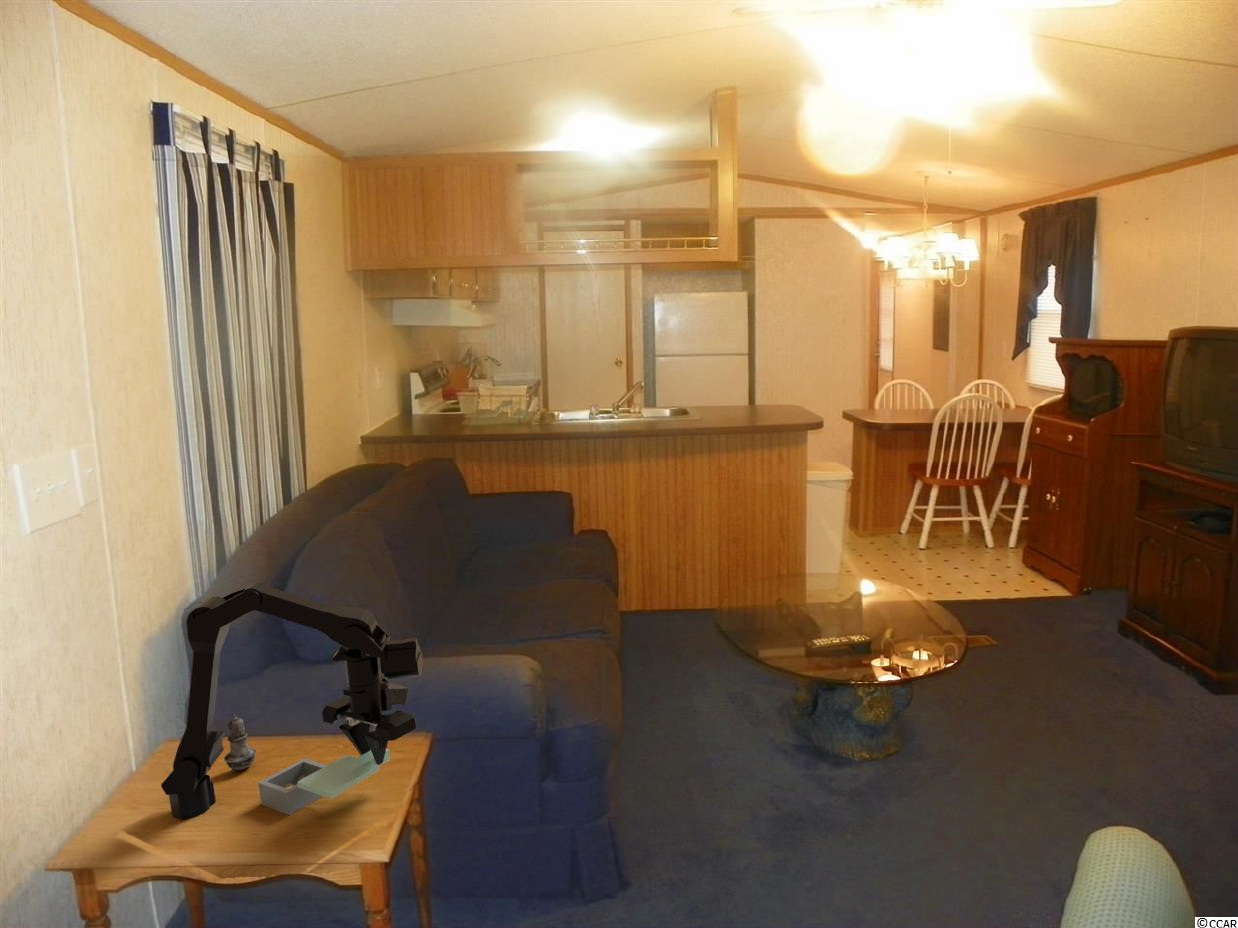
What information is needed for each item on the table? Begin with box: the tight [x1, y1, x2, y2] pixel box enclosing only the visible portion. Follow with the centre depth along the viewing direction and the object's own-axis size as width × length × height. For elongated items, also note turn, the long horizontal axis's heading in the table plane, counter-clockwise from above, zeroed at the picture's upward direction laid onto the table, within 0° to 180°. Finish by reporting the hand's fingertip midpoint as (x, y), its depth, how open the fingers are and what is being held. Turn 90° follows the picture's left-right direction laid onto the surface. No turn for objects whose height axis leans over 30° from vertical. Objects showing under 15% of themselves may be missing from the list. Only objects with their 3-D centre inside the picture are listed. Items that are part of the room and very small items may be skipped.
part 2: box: [299, 774, 311, 781], centre depth 167 cm, size 2×2×3 cm
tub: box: [258, 758, 327, 816], centre depth 166 cm, size 10×8×5 cm
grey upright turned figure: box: [223, 714, 257, 776], centre depth 178 cm, size 6×6×12 cm
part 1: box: [282, 784, 294, 789], centre depth 164 cm, size 2×2×3 cm
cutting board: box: [297, 748, 391, 800], centre depth 161 cm, size 16×9×2 cm, turn 147°
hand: (373, 761), depth 165 cm, fingers closed on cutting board, 3 cm apart
